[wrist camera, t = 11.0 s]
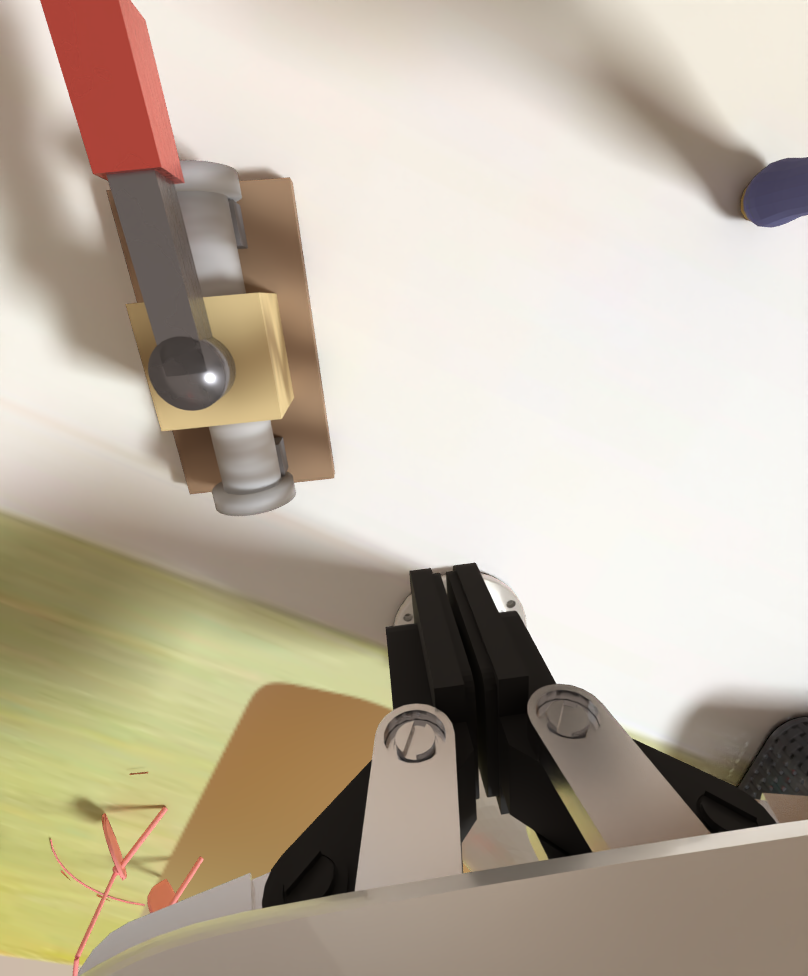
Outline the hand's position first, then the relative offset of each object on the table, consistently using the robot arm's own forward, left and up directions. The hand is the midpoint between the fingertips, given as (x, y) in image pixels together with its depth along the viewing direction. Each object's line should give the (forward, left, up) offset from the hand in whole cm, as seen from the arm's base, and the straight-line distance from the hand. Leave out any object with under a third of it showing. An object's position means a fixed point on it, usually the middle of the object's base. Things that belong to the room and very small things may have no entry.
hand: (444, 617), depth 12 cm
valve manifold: (+5, +10, -27) cm, 29 cm away
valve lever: (+11, +10, -18) cm, 23 cm away
